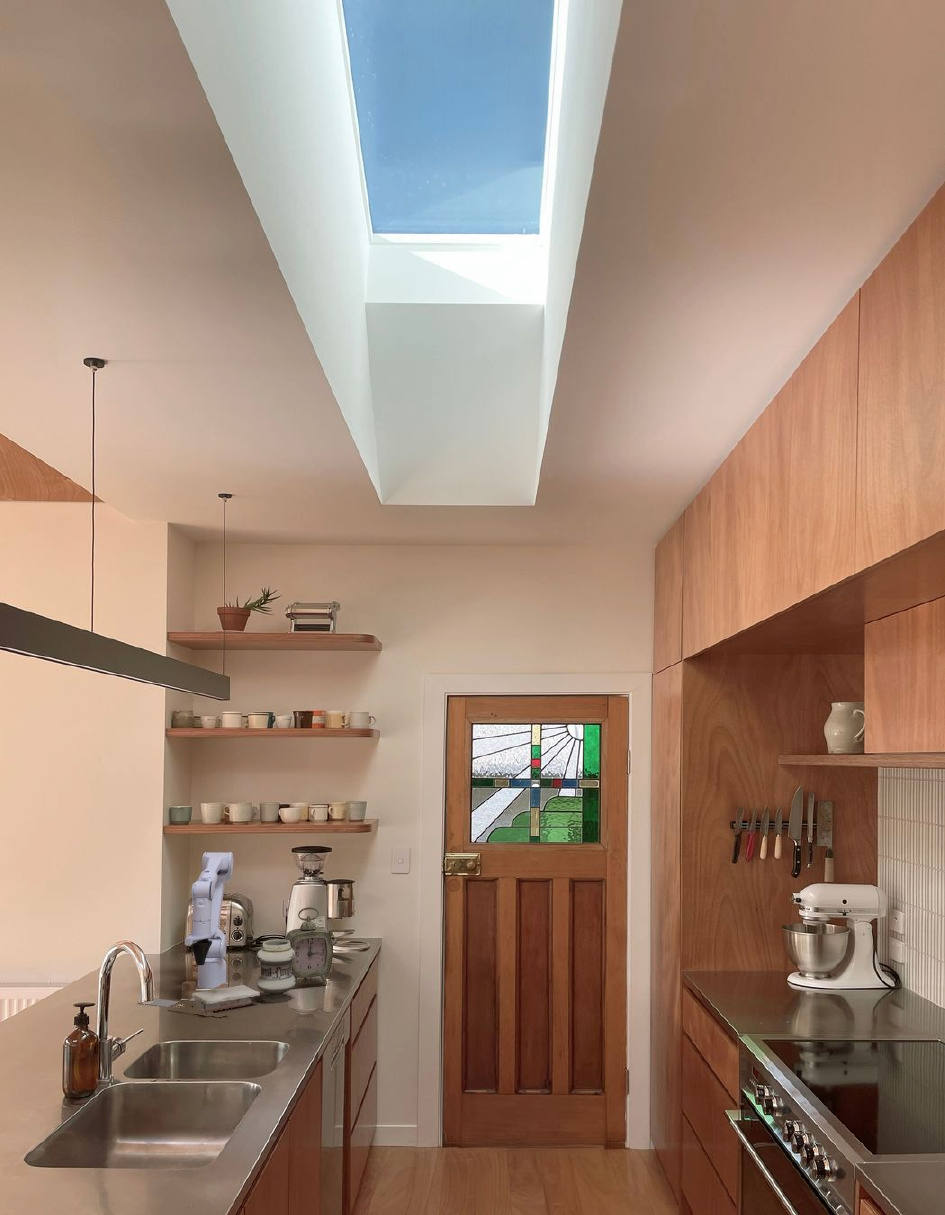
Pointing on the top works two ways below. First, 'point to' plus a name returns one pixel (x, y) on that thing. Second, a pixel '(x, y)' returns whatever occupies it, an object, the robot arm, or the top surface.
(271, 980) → the apothecary jar
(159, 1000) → the slate pad
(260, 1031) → the top surface
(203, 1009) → the packaged product
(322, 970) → the tabletop clock
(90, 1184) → the top surface
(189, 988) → the brown and white block
